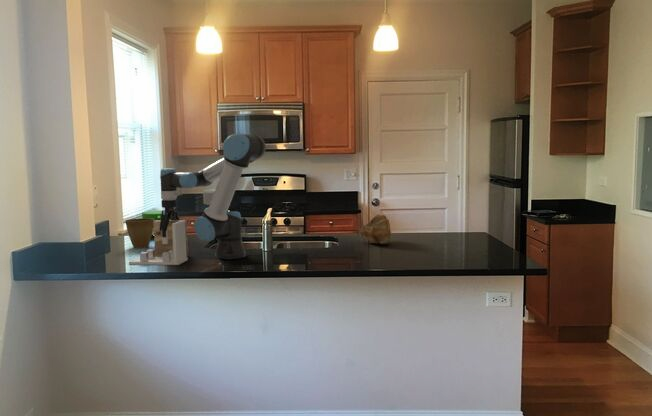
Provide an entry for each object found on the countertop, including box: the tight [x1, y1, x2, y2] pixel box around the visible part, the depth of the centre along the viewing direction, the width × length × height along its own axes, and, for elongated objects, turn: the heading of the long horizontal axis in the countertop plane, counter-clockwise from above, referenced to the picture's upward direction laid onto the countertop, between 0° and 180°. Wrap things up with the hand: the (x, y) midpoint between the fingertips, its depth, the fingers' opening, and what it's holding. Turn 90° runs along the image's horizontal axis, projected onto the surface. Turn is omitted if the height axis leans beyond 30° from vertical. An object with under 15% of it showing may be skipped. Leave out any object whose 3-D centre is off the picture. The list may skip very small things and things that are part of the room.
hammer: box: [202, 188, 216, 206], centre depth 317 cm, size 15×8×30 cm, turn 172°
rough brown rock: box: [359, 214, 392, 245], centre depth 301 cm, size 23×17×15 cm
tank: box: [137, 210, 171, 229], centre depth 325 cm, size 24×35×16 cm
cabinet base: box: [128, 219, 189, 266], centre depth 253 cm, size 12×24×19 cm, turn 83°
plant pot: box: [125, 218, 154, 249], centre depth 293 cm, size 15×15×16 cm
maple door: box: [153, 219, 189, 257], centre depth 267 cm, size 4×16×18 cm, turn 83°
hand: (170, 241), depth 268 cm, fingers open, 13 cm apart
